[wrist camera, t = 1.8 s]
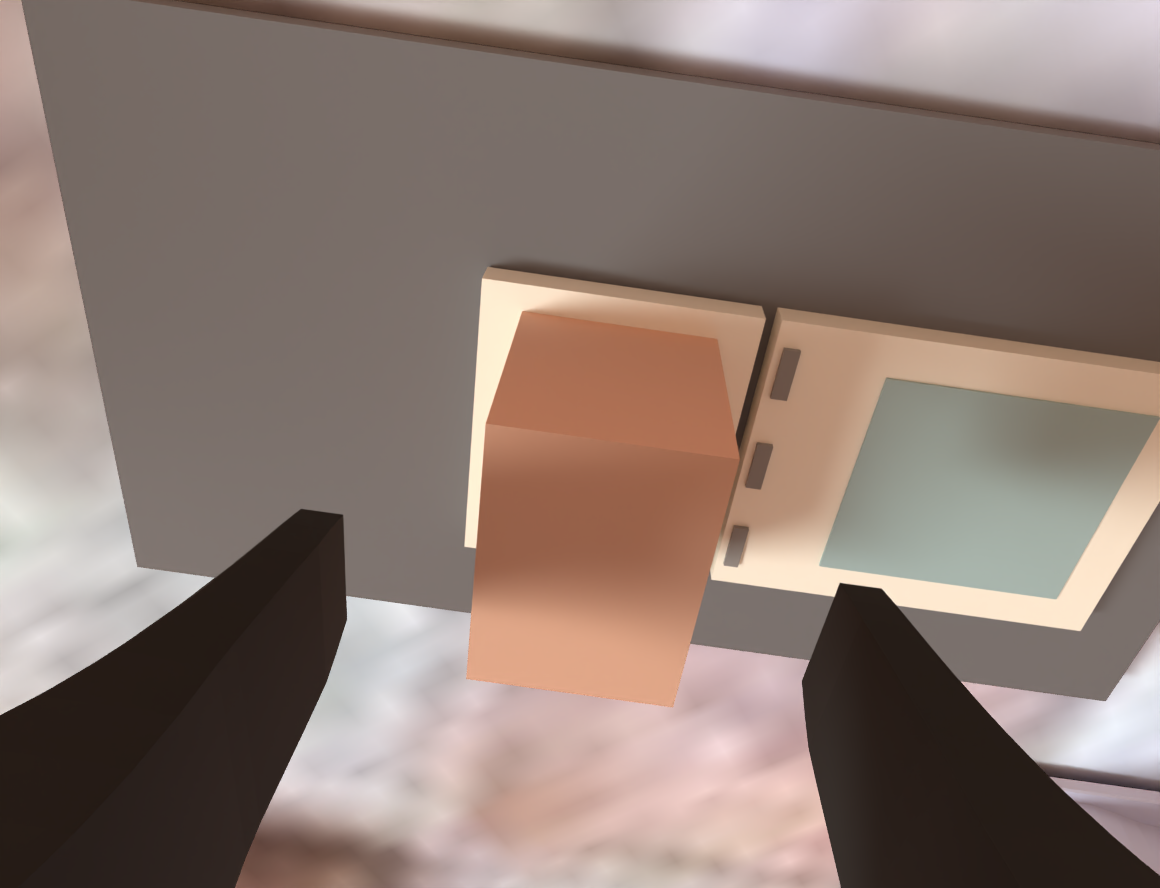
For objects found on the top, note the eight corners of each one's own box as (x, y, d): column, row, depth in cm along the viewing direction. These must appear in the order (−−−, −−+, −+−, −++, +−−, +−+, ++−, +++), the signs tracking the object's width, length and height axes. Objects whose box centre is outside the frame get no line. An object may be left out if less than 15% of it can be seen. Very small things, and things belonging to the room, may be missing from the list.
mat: (1408, 180, 14) (1448, 192, 13) (1090, 675, 20) (1105, 701, 20) (49, -19, 14) (18, -16, 13) (154, 545, 20) (137, 566, 19)
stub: (761, 305, 15) (804, 436, 11) (696, 561, 18) (710, 732, 14) (487, 266, 15) (432, 383, 11) (469, 529, 18) (421, 693, 14)
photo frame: (1211, 369, 15) (1234, 387, 14) (1068, 611, 18) (1083, 634, 18) (777, 307, 15) (783, 322, 14) (709, 561, 18) (711, 582, 18)
